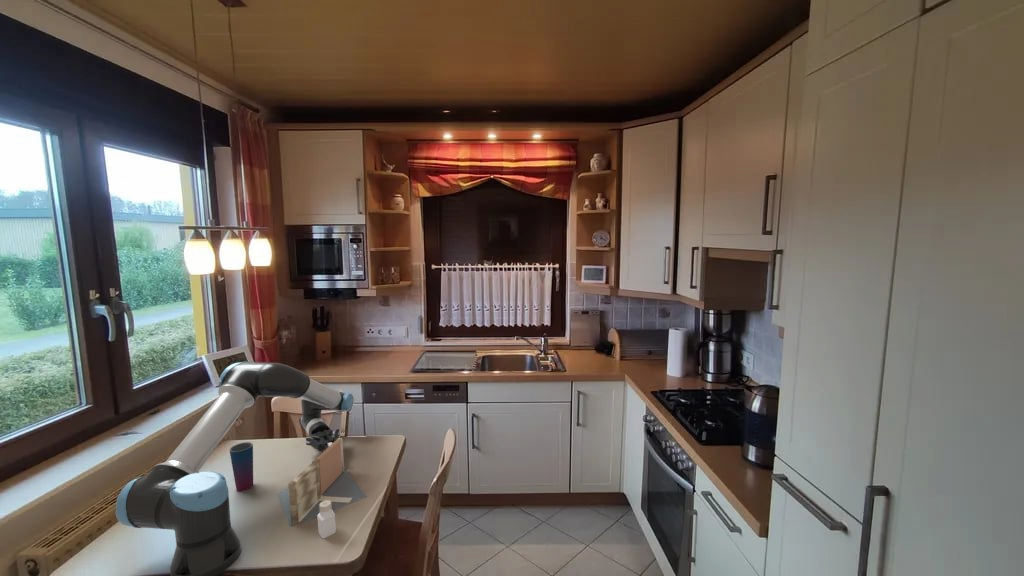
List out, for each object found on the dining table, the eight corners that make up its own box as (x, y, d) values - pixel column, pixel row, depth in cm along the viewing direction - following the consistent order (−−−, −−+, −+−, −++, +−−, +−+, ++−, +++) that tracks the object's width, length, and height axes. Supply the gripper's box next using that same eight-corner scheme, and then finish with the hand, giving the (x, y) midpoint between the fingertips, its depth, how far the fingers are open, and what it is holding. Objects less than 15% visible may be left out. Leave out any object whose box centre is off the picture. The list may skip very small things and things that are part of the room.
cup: (230, 487, 143) (227, 447, 141) (253, 479, 148) (249, 440, 146) (236, 495, 139) (232, 453, 137) (258, 486, 143) (255, 446, 142)
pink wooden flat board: (322, 494, 137) (320, 459, 136) (317, 494, 137) (315, 458, 136) (345, 470, 152) (343, 437, 150) (340, 469, 152) (338, 437, 151)
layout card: (290, 528, 122) (290, 526, 122) (276, 493, 139) (276, 492, 139) (366, 497, 137) (366, 496, 137) (346, 469, 154) (346, 468, 154)
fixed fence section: (316, 496, 137) (314, 459, 136) (322, 496, 137) (319, 460, 135) (289, 525, 123) (286, 484, 122) (296, 525, 123) (292, 485, 122)
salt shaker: (331, 526, 123) (329, 497, 122) (336, 533, 120) (334, 503, 119) (317, 533, 120) (315, 503, 119) (322, 540, 117) (320, 509, 116)
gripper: (335, 434, 176) (352, 456, 158) (301, 443, 168) (316, 468, 150) (333, 417, 175) (351, 437, 157) (300, 426, 167) (315, 448, 149)
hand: (334, 452), depth 153 cm, fingers closed
